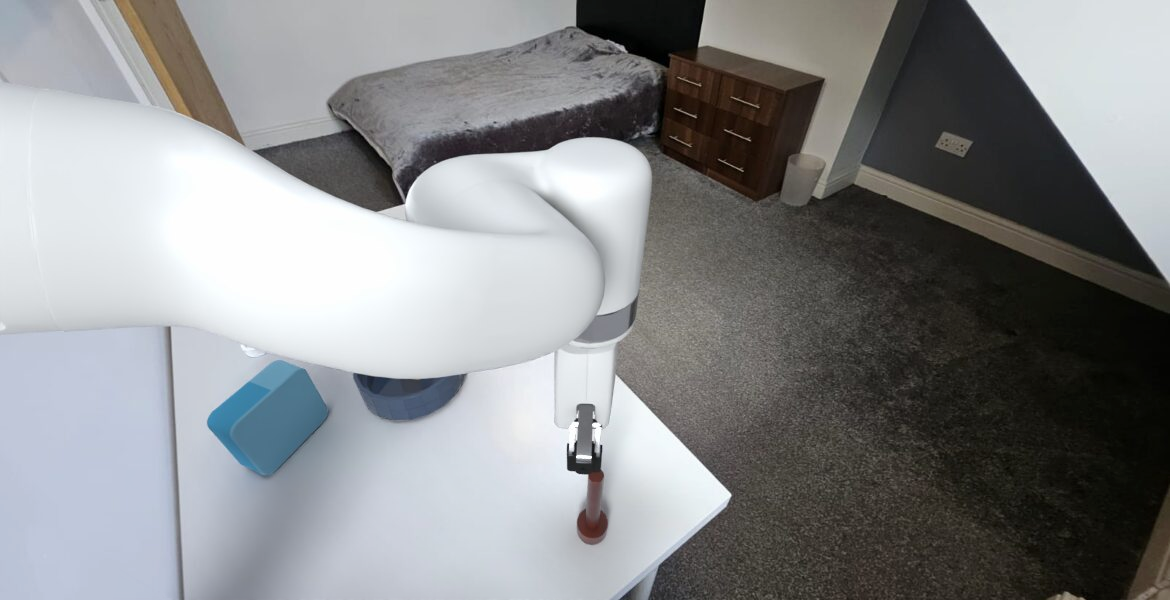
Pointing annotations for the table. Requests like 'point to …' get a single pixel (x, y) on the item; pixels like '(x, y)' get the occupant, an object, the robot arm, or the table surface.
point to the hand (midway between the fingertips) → (585, 425)
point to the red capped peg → (593, 512)
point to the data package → (269, 417)
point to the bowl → (406, 395)
